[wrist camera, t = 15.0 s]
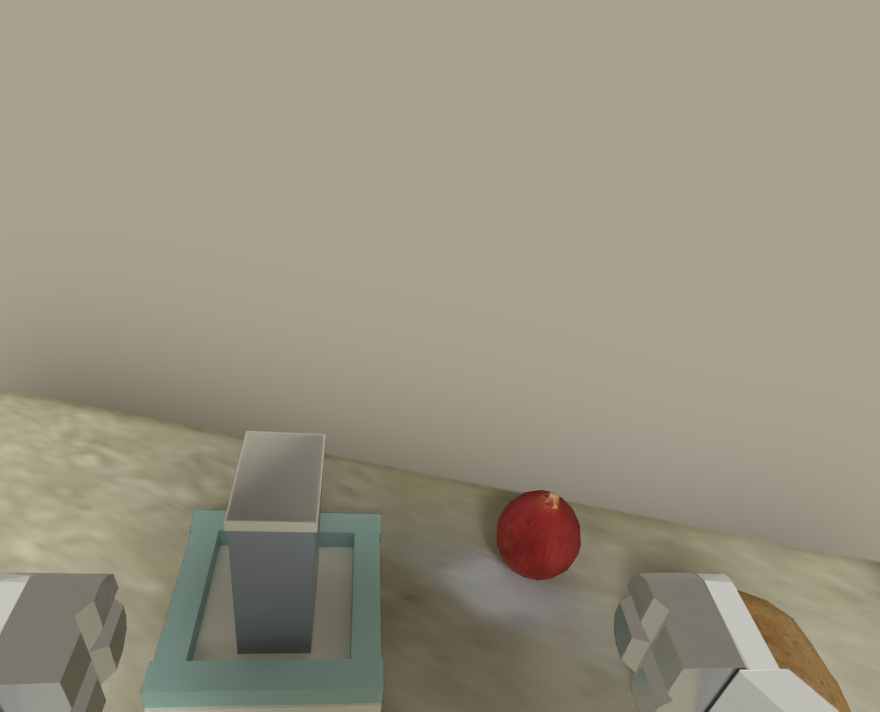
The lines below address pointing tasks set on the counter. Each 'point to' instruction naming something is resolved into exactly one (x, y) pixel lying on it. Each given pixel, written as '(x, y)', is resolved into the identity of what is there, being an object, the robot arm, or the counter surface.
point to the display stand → (283, 674)
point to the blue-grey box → (275, 540)
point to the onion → (538, 535)
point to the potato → (793, 649)
